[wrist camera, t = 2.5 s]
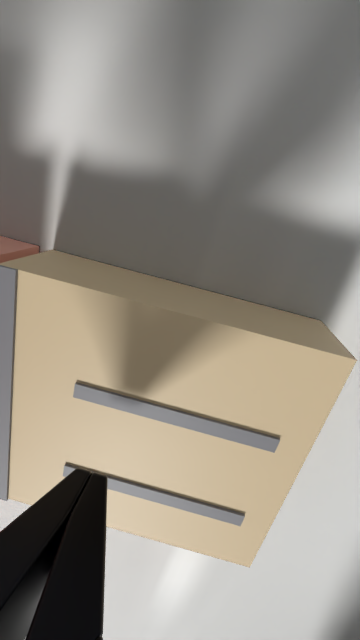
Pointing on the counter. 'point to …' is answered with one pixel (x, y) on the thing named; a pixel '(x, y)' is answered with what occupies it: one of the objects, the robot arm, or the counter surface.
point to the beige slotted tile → (159, 399)
